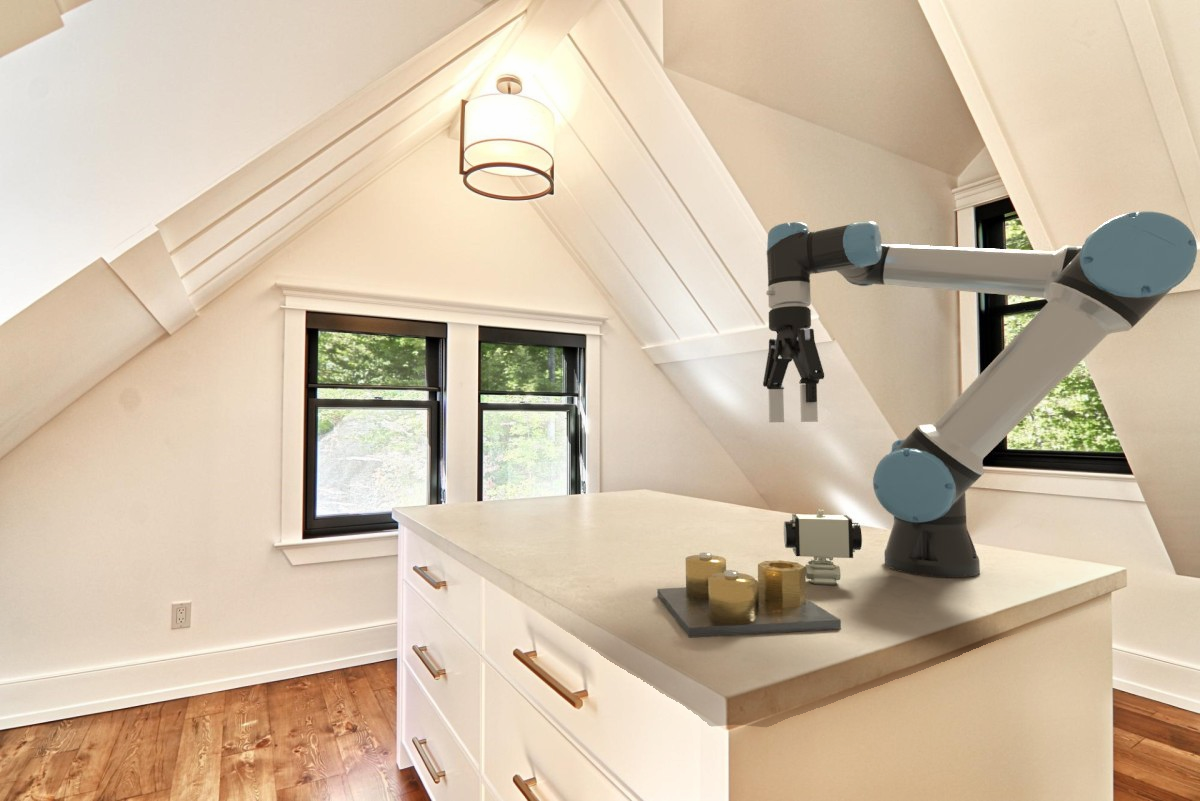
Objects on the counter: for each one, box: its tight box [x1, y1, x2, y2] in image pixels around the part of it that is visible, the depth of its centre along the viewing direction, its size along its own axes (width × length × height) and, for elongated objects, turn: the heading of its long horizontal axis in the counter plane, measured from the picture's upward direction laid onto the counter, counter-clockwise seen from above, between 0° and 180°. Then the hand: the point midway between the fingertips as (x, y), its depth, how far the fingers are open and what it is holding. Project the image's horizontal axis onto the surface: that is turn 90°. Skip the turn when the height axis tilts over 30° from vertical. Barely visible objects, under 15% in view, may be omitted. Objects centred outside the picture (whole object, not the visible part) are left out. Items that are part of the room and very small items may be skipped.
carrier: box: [656, 552, 842, 639], centre depth 84 cm, size 20×18×7 cm
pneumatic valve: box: [783, 509, 863, 586], centre depth 100 cm, size 6×12×12 cm, turn 78°
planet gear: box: [757, 559, 807, 608], centre depth 85 cm, size 6×6×5 cm
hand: (791, 422), depth 110 cm, fingers open, 13 cm apart
